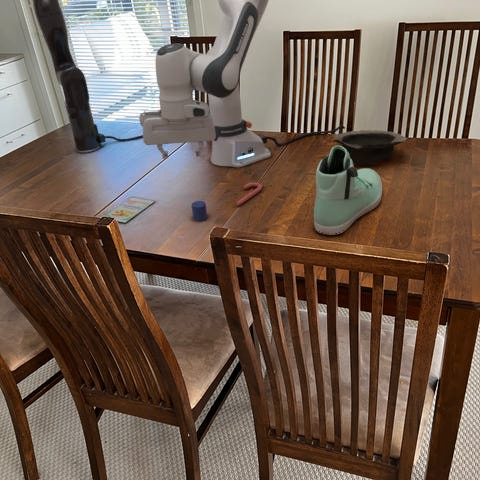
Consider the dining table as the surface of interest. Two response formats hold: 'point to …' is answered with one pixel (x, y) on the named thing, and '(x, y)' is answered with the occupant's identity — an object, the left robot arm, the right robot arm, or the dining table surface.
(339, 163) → the sneaker
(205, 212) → the can
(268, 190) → the dining table surface
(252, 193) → the candy cane
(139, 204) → the baking ingredient package
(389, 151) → the stone bowl
